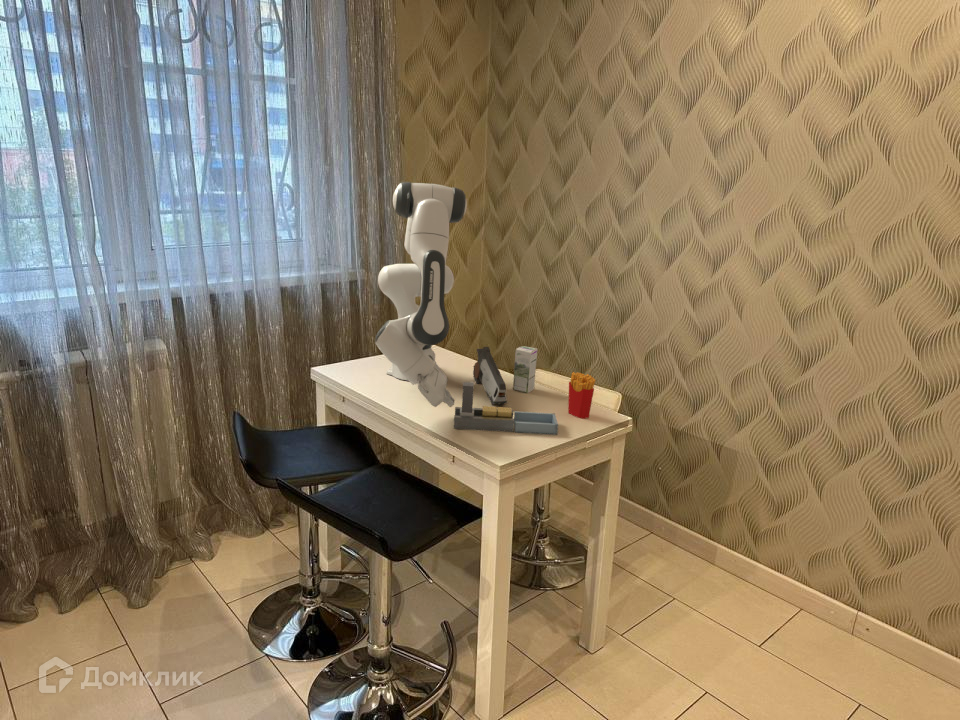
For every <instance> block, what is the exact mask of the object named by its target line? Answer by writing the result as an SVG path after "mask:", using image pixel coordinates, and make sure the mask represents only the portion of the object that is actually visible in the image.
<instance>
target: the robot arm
mask: <svg viewBox="0 0 960 720" xmlns="http://www.w3.org/2000/svg"><path fill="white" fill-rule="evenodd" d="M466 197H467V196H466V193H465V192H464V190H463V189H461V188H457V187H455V186H454V187H450V186H448V185H447V186H446V185H443V184H438V183H437V184H436V183H428V182H426V183H423V182H411V181H403V182H400V183H399V184H397V187H396V188H395V189H394V192H393V195H392V204H393V208H394V212H395V213H396V214H397V215H398V216H399V217H402V218H404V219H405V220H406V219H407V222H406V228H405V229H406V230H405V236H404V243H403V244H404V249H405V251H406V252H407V254H408V255H409V256H410V259H411V261H412V262H413V263H395V264H389V265H384V266H383V267H382V268H381V270H380V271H379V273H378V277H377V283H378V287H379V289H380V291H381V292H382V293H383V295H385V296H386V297H387V298H389V299H390V300H391V302H392V303H393V305H394V307H395V309H396V311H397V316H398V317H397V319H392V320H391V319H389V320H387V321H385V322H384V324H383V325H382V326H381V327H380V328H379V330H378V331H377V333H376V334H375V338H374V339H375V340H374V342H375V345H376V346H377V348H378V349H379V351H380V352H381V353H382V354H383V356H384V357H385V358H387V360H388V361H389V362H390V363H391V367H389V368H388V369H387V370H386V375H390V376H393V377H394V378H396V379H398V380H402V381H409V383H410V384H412V386H413V385H416V384H417V389H418V391H419V392H420V394H421V395H422V396H423V397H424V398H425V400H426V401H427V402H429V404H430V405H431V406H432V407H434V408H437V407H438V406H439V405H441V403H444V404H446V405H447V406H448V407H449V408H452V407H454V405H455V401H456V400H455V399H454V397H453V396H452V395H451V393H450V392H449V390H448V389H447V385H448V377H447V375H446V374H445V372H444V371H443V370H442V368H441V367H440V365H438V364H437V362H436V353H435V351H434V350H433V349H432V346H433V345H438V344H440V343H442V342H443V341H444V340H445V339H446V338H447V335H448V333H449V331H450V322H449V318H448V315H447V312H446V309H445V307H446V306H445V294H449V292H451V290H452V288H454V287H453V286H454V282H455V276H454V274H453V270H451V268H450V267H449V266H448V265H447V257H448V250H449V243H450V242H449V241H450V224H455V223H459V222H460V221H462V220H463V219H464V216H465V214H466V212H467V207H468V201H467V198H466ZM417 297H420V304H417V303H416V298H417Z"/></svg>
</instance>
